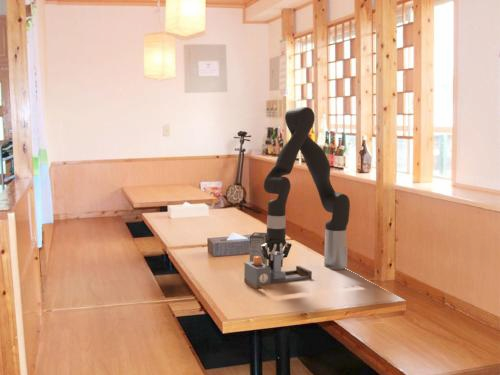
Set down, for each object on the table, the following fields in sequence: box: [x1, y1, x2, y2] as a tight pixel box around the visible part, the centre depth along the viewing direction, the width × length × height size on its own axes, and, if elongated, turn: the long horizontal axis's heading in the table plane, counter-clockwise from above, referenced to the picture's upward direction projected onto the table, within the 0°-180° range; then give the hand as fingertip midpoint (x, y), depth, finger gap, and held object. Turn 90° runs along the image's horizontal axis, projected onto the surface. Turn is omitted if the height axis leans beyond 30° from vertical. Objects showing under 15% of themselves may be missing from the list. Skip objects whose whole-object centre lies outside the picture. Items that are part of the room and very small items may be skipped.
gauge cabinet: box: [243, 261, 271, 286], centre depth 255 cm, size 6×11×6 cm, turn 26°
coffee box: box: [249, 231, 269, 266], centre depth 276 cm, size 9×6×16 cm
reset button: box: [253, 256, 262, 265], centre depth 255 cm, size 3×3×3 cm
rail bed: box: [243, 265, 313, 290], centre depth 260 cm, size 25×11×4 cm, turn 116°
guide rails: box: [269, 269, 310, 285], centre depth 261 cm, size 18×11×1 cm, turn 116°
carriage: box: [270, 252, 286, 280], centre depth 259 cm, size 5×8×10 cm, turn 25°
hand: (275, 268), depth 259 cm, fingers closed on carriage, 3 cm apart
